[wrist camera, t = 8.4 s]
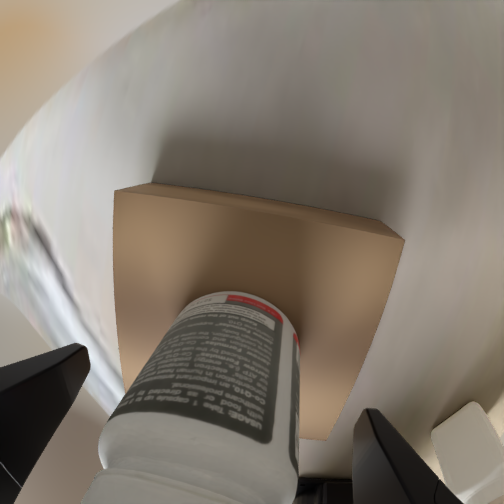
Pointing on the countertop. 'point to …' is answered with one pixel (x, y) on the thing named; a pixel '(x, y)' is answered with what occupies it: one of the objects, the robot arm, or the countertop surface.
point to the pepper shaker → (471, 456)
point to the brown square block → (254, 278)
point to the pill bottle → (209, 412)
